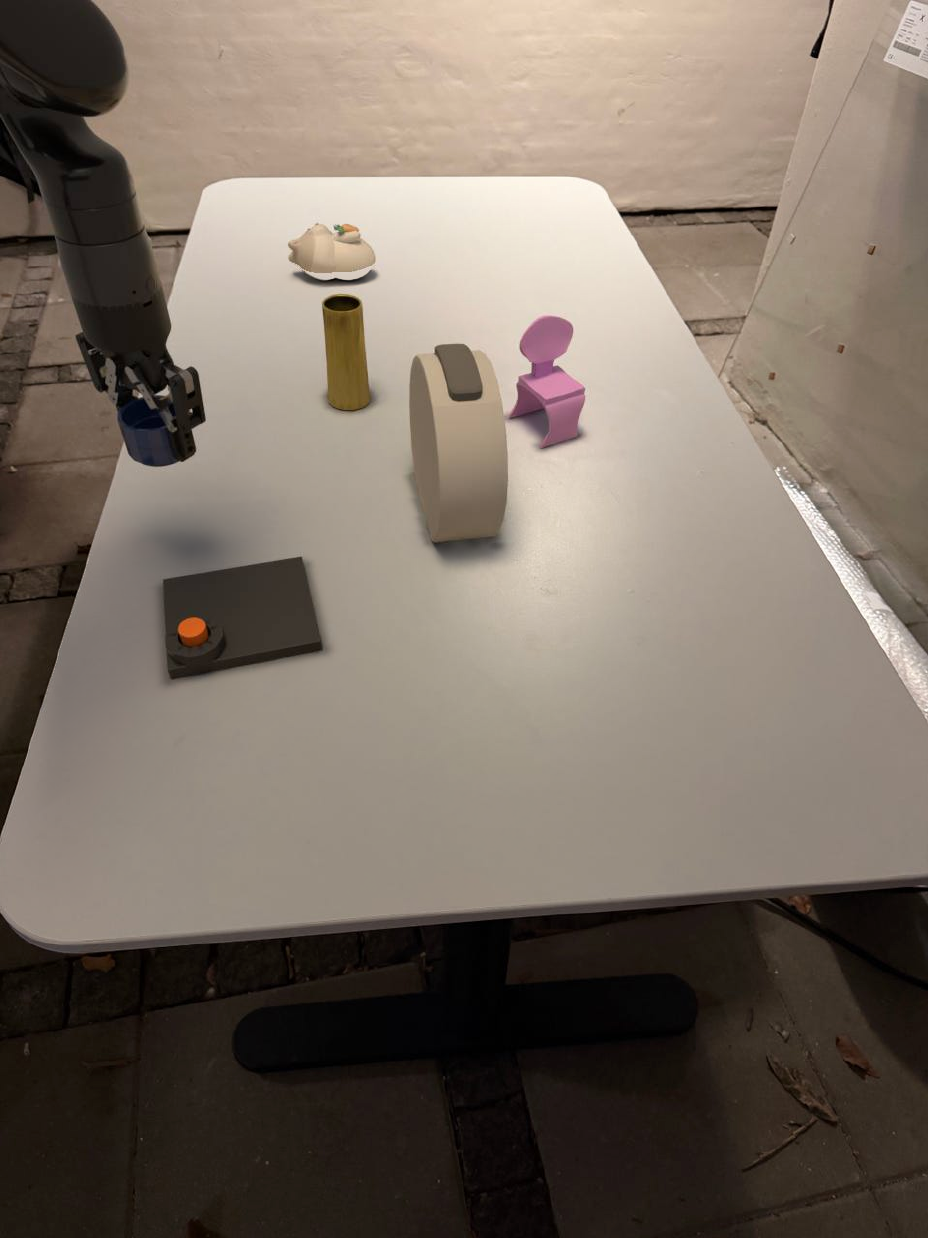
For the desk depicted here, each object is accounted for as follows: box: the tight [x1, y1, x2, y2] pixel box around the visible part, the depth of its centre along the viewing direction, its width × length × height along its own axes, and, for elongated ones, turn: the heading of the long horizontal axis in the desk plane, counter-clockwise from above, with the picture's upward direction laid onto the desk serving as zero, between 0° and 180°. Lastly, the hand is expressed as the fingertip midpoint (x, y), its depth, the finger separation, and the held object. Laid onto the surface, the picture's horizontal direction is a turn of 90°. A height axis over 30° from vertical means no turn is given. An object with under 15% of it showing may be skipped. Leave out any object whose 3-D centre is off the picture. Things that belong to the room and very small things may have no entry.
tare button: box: [178, 618, 208, 647], centre depth 76 cm, size 3×3×2 cm
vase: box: [321, 293, 372, 411], centre depth 106 cm, size 6×6×14 cm
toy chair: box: [507, 315, 586, 449], centre depth 103 cm, size 8×9×15 cm
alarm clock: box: [408, 343, 509, 543], centre depth 89 cm, size 21×8×20 cm, turn 12°
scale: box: [162, 556, 323, 679], centre depth 81 cm, size 15×13×3 cm
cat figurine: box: [287, 222, 376, 273], centre depth 134 cm, size 10×8×15 cm
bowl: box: [116, 394, 180, 468], centre depth 78 cm, size 6×6×4 cm
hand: (160, 444), depth 79 cm, fingers closed on bowl, 6 cm apart
